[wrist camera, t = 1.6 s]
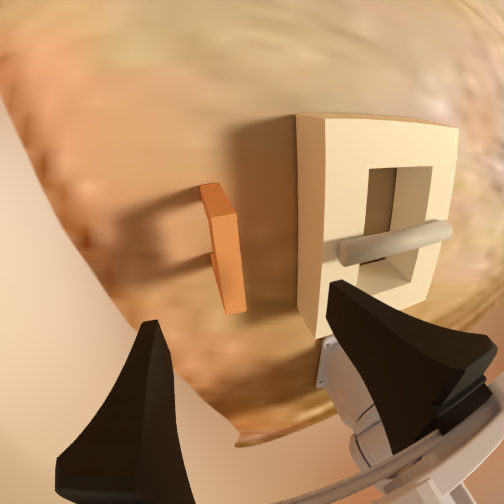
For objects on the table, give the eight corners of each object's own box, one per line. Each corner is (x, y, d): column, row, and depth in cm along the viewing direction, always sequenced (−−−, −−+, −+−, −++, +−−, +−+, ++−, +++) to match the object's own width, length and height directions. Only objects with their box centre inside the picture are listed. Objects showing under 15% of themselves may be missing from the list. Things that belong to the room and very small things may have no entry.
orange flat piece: (228, 262, 21) (246, 311, 17) (212, 265, 21) (226, 315, 16) (218, 182, 18) (236, 213, 14) (199, 185, 18) (210, 217, 13)
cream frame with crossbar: (401, 278, 27) (435, 309, 23) (296, 308, 25) (323, 353, 20) (423, 119, 19) (474, 133, 15) (295, 114, 17) (340, 121, 12)
